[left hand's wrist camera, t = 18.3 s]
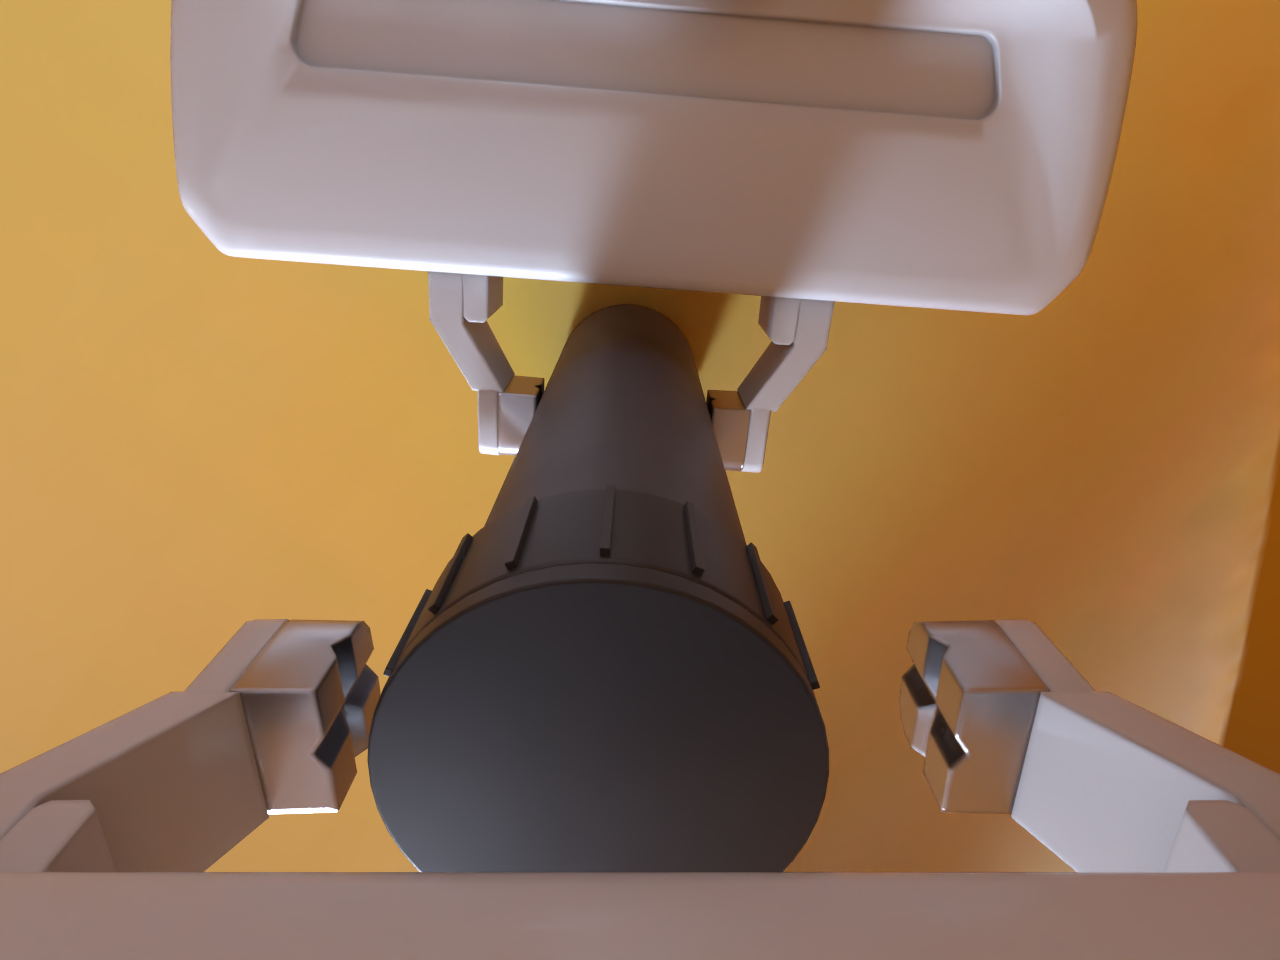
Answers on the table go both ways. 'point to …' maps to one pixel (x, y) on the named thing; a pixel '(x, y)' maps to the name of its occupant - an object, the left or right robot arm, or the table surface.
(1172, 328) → the table surface
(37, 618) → the table surface
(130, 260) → the table surface
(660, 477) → the dark grey cylinder
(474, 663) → the lid
